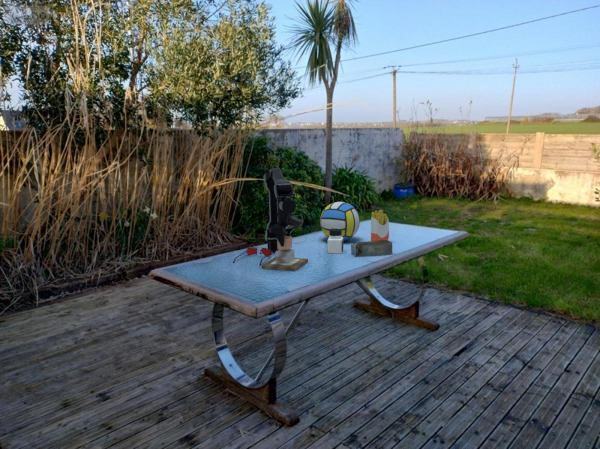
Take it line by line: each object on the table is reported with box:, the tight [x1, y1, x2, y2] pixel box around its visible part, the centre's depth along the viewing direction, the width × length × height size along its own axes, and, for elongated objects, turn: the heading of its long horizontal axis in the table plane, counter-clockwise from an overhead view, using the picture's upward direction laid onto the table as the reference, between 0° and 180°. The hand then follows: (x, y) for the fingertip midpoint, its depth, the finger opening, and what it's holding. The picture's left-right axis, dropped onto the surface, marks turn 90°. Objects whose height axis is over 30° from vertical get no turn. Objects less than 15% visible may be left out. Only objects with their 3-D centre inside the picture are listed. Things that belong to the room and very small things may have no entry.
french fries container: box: [370, 209, 390, 241], centre depth 229 cm, size 5×11×18 cm, turn 134°
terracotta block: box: [277, 235, 293, 250], centre depth 189 cm, size 5×5×5 cm
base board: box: [260, 248, 309, 272], centre depth 191 cm, size 16×16×7 cm
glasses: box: [232, 246, 274, 266], centre depth 201 cm, size 14×16×5 cm
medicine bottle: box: [327, 228, 344, 255], centre depth 213 cm, size 7×7×12 cm
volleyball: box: [319, 201, 361, 242], centre depth 238 cm, size 22×22×22 cm
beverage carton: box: [350, 239, 393, 258], centre depth 208 cm, size 8×19×7 cm, turn 101°
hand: (284, 245), depth 190 cm, fingers open, 5 cm apart
